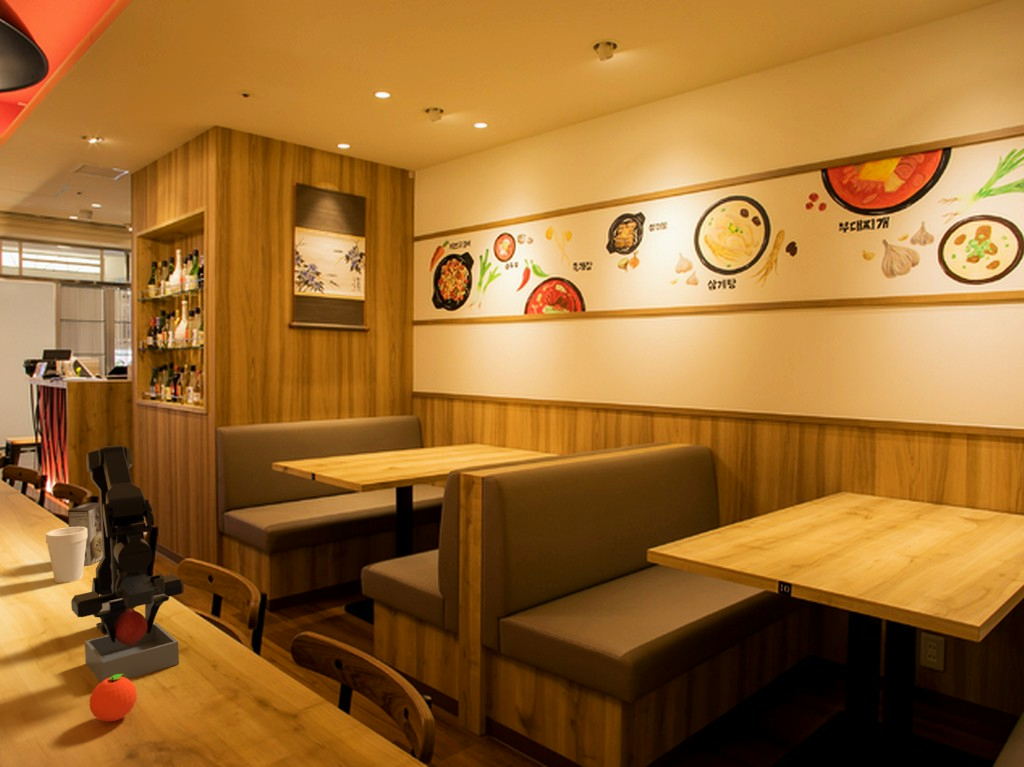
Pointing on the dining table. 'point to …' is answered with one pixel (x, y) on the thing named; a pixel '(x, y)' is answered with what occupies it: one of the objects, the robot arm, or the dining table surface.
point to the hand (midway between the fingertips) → (131, 637)
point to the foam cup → (67, 552)
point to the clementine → (113, 698)
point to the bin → (132, 655)
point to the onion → (130, 627)
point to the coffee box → (89, 529)
